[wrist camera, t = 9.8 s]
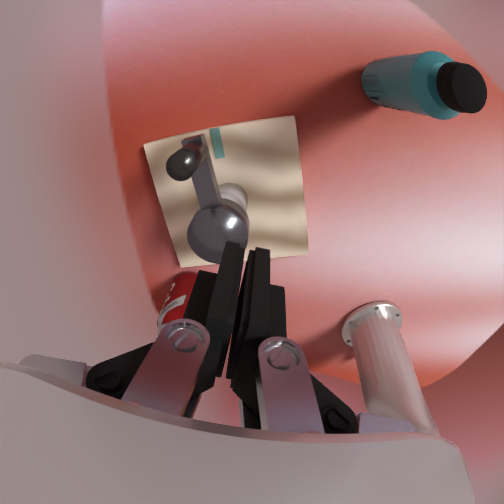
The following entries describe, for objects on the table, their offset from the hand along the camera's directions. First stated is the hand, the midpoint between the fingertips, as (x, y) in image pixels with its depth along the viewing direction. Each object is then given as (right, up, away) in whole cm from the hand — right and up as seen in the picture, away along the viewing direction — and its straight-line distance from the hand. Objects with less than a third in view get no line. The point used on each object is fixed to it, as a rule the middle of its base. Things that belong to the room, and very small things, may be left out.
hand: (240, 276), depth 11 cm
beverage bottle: (+17, +23, +19) cm, 34 cm away
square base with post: (-3, +9, +29) cm, 30 cm away
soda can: (-10, -5, +38) cm, 40 cm away
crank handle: (-4, +7, +20) cm, 21 cm away
